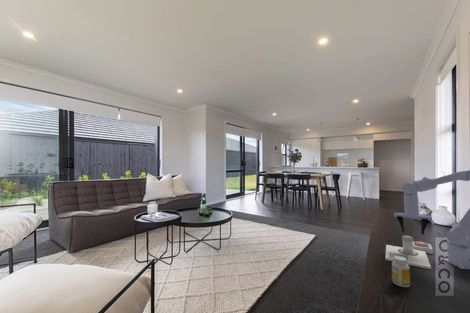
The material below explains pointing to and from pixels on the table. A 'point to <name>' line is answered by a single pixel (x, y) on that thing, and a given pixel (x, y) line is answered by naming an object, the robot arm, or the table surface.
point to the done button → (421, 244)
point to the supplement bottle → (400, 272)
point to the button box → (423, 248)
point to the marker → (407, 244)
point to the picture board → (408, 256)
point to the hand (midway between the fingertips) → (412, 232)
